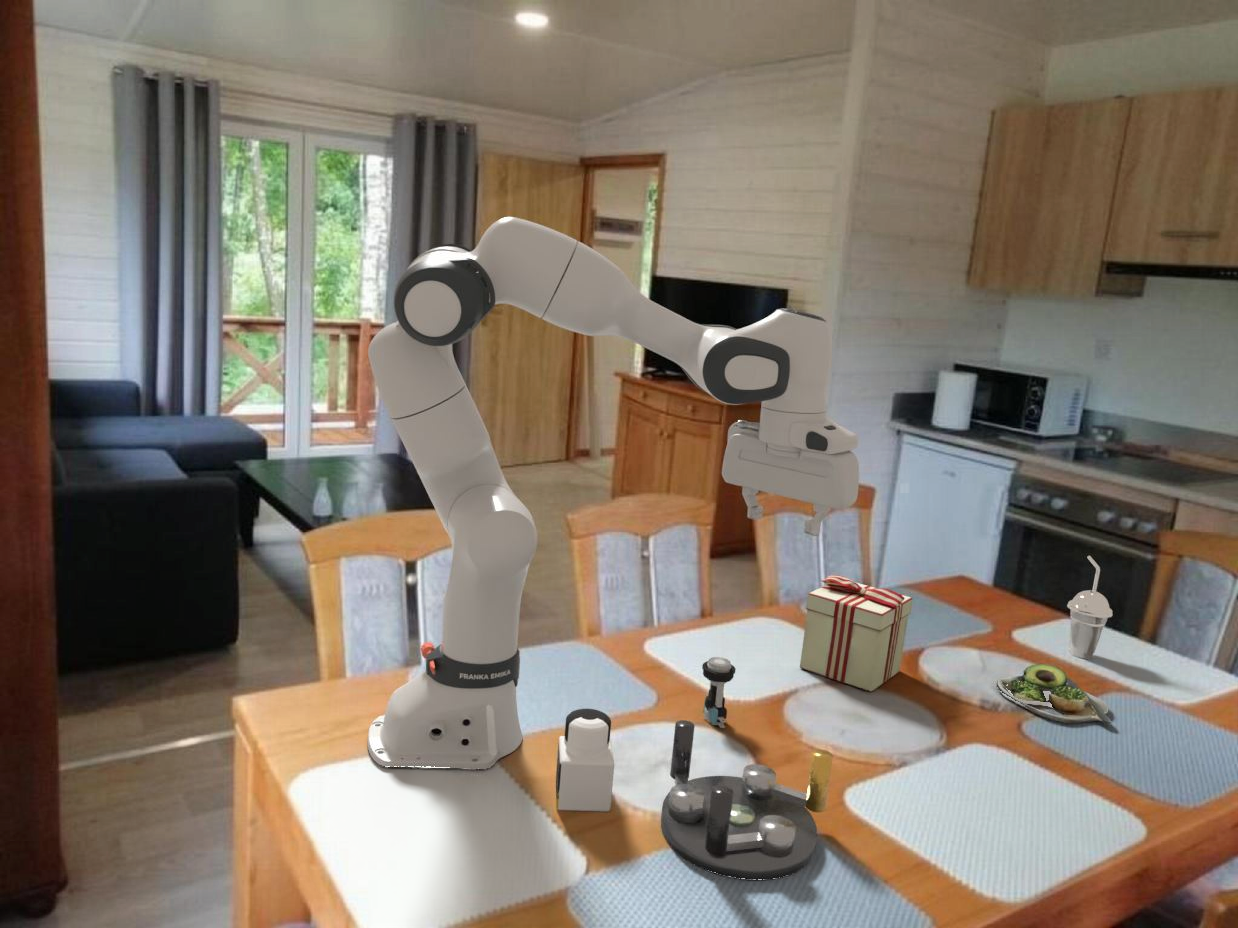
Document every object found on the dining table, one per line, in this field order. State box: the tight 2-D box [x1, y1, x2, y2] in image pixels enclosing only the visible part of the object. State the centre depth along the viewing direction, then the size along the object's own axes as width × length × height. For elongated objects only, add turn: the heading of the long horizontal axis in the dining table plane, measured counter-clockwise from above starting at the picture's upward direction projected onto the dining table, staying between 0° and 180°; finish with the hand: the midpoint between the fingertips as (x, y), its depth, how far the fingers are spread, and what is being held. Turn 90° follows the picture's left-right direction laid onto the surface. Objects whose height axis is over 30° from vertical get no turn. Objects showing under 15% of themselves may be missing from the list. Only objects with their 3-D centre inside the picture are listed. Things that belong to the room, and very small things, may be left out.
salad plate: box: [996, 663, 1112, 724], centre depth 168 cm, size 19×18×5 cm
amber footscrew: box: [741, 748, 833, 813], centre depth 124 cm, size 12×4×8 cm, turn 62°
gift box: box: [799, 574, 914, 692], centre depth 175 cm, size 17×18×17 cm
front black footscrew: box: [705, 785, 796, 857], centre depth 113 cm, size 12×4×8 cm, turn 107°
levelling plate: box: [660, 775, 818, 881], centre depth 121 cm, size 20×20×3 cm
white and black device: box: [555, 708, 615, 813], centre depth 125 cm, size 7×7×12 cm
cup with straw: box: [1066, 555, 1114, 660], centre depth 192 cm, size 8×9×20 cm
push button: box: [701, 656, 736, 729], centre depth 150 cm, size 7×5×10 cm
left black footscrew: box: [668, 719, 704, 823], centre depth 123 cm, size 12×4×8 cm, turn 2°
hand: (782, 526), depth 131 cm, fingers open, 8 cm apart
